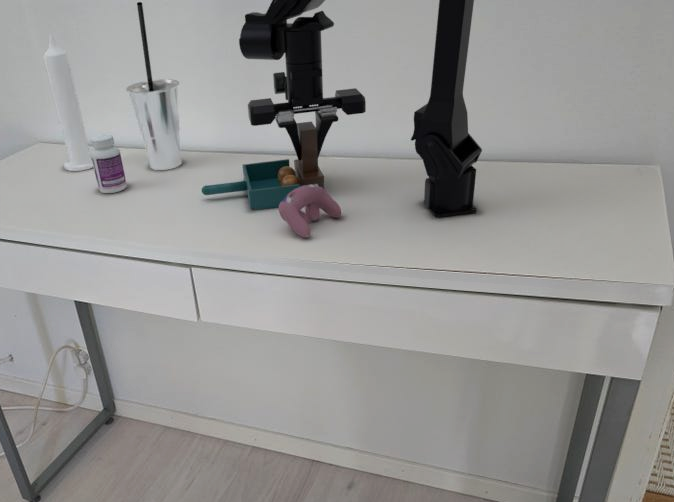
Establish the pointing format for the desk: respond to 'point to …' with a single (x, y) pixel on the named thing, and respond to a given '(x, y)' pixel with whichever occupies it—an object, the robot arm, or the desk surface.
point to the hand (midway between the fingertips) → (308, 158)
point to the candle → (67, 108)
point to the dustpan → (258, 184)
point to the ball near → (290, 180)
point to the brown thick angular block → (308, 156)
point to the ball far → (285, 172)
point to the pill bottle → (107, 164)
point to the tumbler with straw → (157, 113)
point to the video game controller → (307, 207)
